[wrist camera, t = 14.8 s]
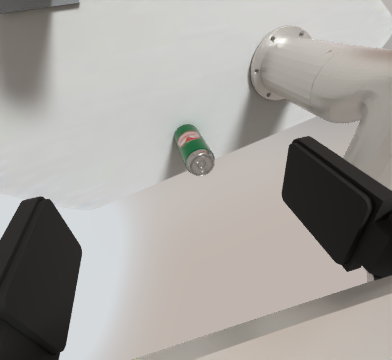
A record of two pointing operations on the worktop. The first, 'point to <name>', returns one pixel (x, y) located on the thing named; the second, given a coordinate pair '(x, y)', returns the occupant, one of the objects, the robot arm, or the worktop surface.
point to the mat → (31, 4)
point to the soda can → (194, 150)
